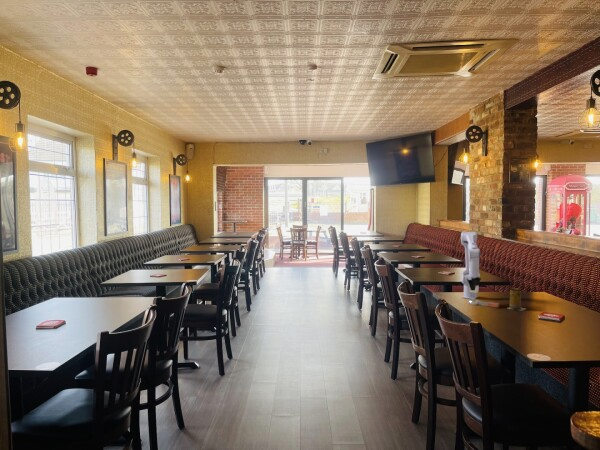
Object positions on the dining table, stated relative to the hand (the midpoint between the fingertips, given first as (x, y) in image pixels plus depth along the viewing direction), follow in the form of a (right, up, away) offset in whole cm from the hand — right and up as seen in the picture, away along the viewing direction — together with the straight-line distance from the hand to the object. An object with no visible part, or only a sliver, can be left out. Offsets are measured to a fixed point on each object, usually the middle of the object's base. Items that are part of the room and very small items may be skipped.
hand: (474, 289), depth 271 cm
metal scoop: (+4, -9, -3) cm, 10 cm away
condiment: (+20, -10, -13) cm, 26 cm away
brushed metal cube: (0, -1, 0) cm, 1 cm away
